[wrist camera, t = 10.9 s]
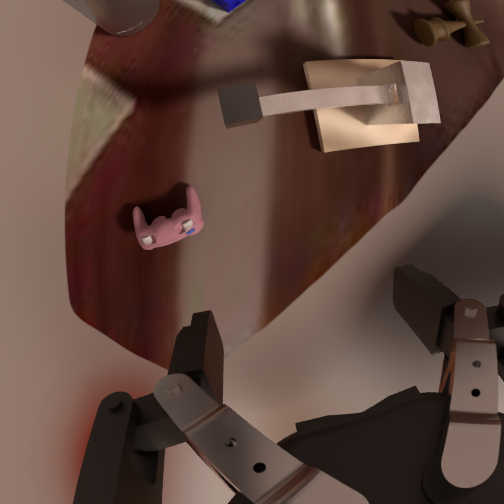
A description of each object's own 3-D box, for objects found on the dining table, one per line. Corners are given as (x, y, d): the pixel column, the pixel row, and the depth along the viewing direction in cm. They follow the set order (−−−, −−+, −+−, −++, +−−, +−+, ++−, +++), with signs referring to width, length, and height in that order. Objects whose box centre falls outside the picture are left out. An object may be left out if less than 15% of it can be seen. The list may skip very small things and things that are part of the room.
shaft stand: (302, 64, 34) (333, 33, 21) (399, 62, 33) (452, 44, 21) (321, 151, 38) (360, 158, 26) (414, 140, 38) (471, 147, 26)
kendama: (398, 13, 30) (463, 2, 27) (425, 61, 34) (484, 44, 30) (416, 2, 25) (480, -4, 21) (446, 57, 28) (504, 41, 25)
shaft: (221, 102, 27) (217, 89, 20) (378, 83, 27) (415, 72, 20) (227, 129, 28) (225, 125, 21) (383, 108, 28) (422, 103, 21)
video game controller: (145, 227, 42) (142, 261, 38) (131, 205, 39) (124, 239, 34) (205, 204, 42) (209, 238, 37) (193, 180, 38) (196, 212, 34)
